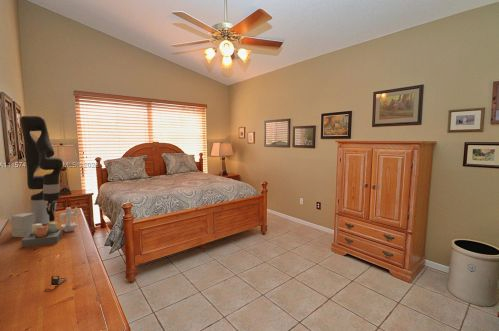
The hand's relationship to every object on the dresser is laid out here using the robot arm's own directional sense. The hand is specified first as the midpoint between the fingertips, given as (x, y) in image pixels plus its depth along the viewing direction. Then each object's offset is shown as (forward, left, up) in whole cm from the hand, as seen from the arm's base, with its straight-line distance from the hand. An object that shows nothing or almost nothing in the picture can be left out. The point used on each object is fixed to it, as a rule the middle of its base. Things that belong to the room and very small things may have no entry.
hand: (51, 220), depth 140 cm
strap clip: (+59, +12, -11) cm, 61 cm away
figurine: (-12, +6, -11) cm, 17 cm away
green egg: (0, 0, -7) cm, 8 cm away
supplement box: (-12, -16, -11) cm, 23 cm away
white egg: (0, -7, -7) cm, 10 cm away
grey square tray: (+3, -3, -11) cm, 11 cm away
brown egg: (+6, -3, -8) cm, 10 cm away
